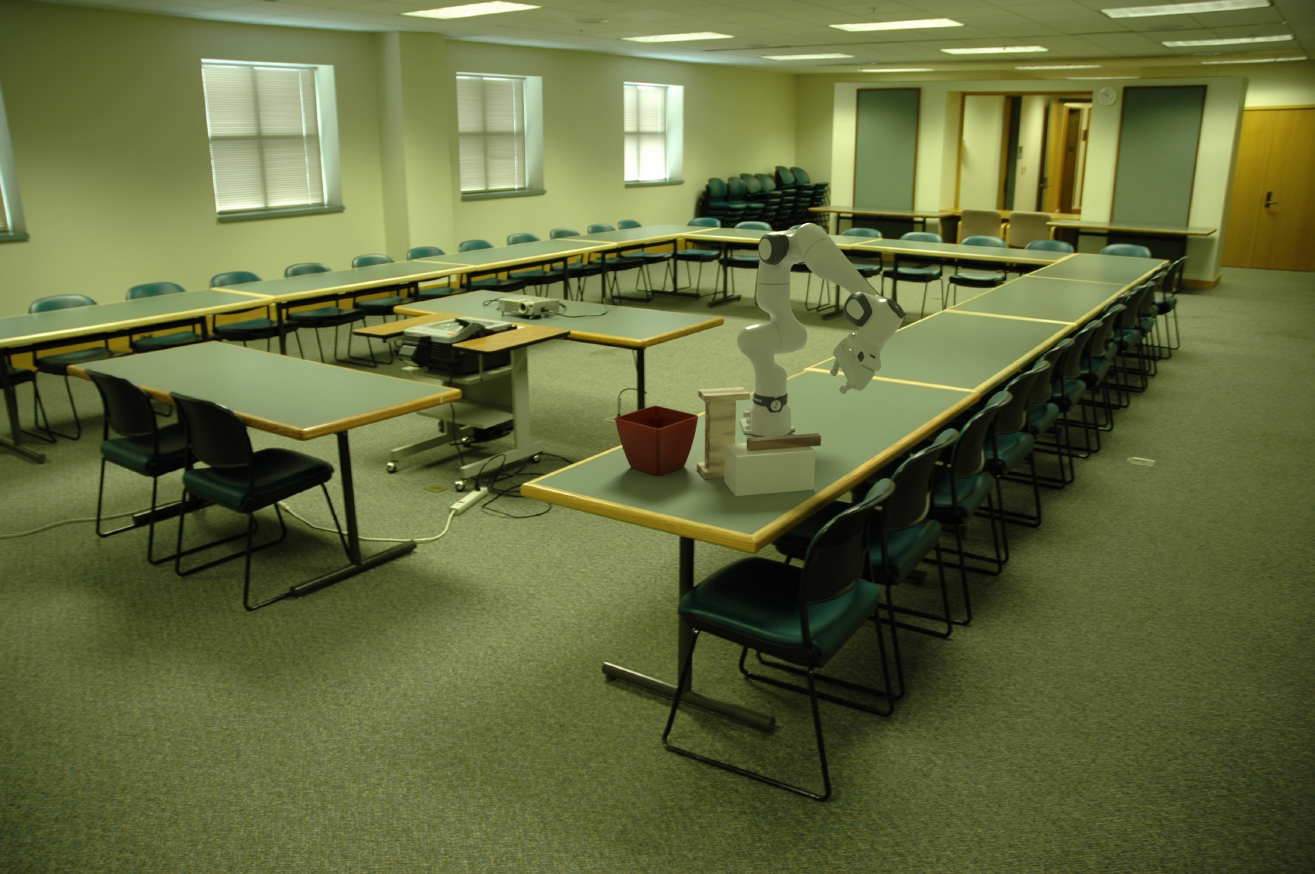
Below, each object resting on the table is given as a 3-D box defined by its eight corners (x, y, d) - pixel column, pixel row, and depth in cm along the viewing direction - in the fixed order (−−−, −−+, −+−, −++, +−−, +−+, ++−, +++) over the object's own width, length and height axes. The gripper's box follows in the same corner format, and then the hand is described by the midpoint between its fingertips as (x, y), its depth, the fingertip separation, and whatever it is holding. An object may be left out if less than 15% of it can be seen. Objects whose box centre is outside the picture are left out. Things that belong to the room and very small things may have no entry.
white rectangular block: (724, 482, 278) (725, 444, 275) (799, 476, 283) (800, 438, 279) (735, 496, 267) (736, 457, 263) (813, 489, 272) (815, 451, 268)
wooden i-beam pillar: (696, 468, 290) (697, 388, 282) (739, 464, 293) (741, 386, 285) (705, 479, 281) (705, 396, 273) (748, 475, 284) (750, 394, 276)
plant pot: (614, 468, 291) (613, 417, 286) (655, 453, 305) (655, 404, 299) (658, 482, 279) (658, 429, 274) (699, 466, 292) (699, 415, 287)
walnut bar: (746, 447, 272) (746, 438, 271) (816, 442, 276) (817, 433, 275) (749, 450, 269) (749, 441, 268) (820, 445, 273) (821, 436, 272)
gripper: (845, 326, 281) (819, 361, 288) (866, 363, 266) (838, 399, 272) (860, 333, 284) (834, 367, 291) (883, 371, 268) (855, 406, 275)
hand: (836, 383), depth 281 cm, fingers open, 8 cm apart
